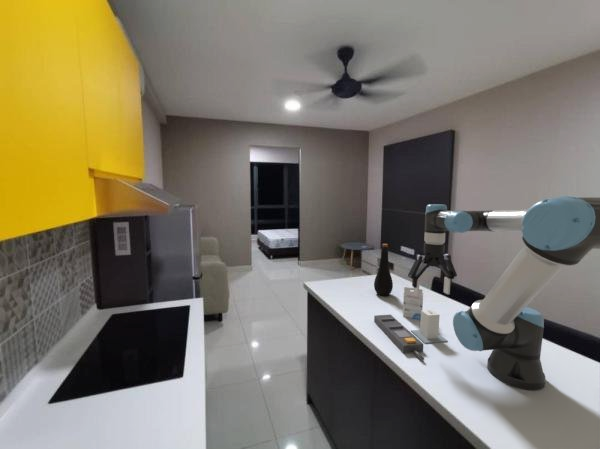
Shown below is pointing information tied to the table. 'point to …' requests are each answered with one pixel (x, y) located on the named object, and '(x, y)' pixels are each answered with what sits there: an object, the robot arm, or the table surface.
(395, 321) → the power strip
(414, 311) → the ink box
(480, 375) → the table surface
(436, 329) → the block
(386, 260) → the bottle
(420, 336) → the mat
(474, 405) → the table surface
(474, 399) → the table surface
